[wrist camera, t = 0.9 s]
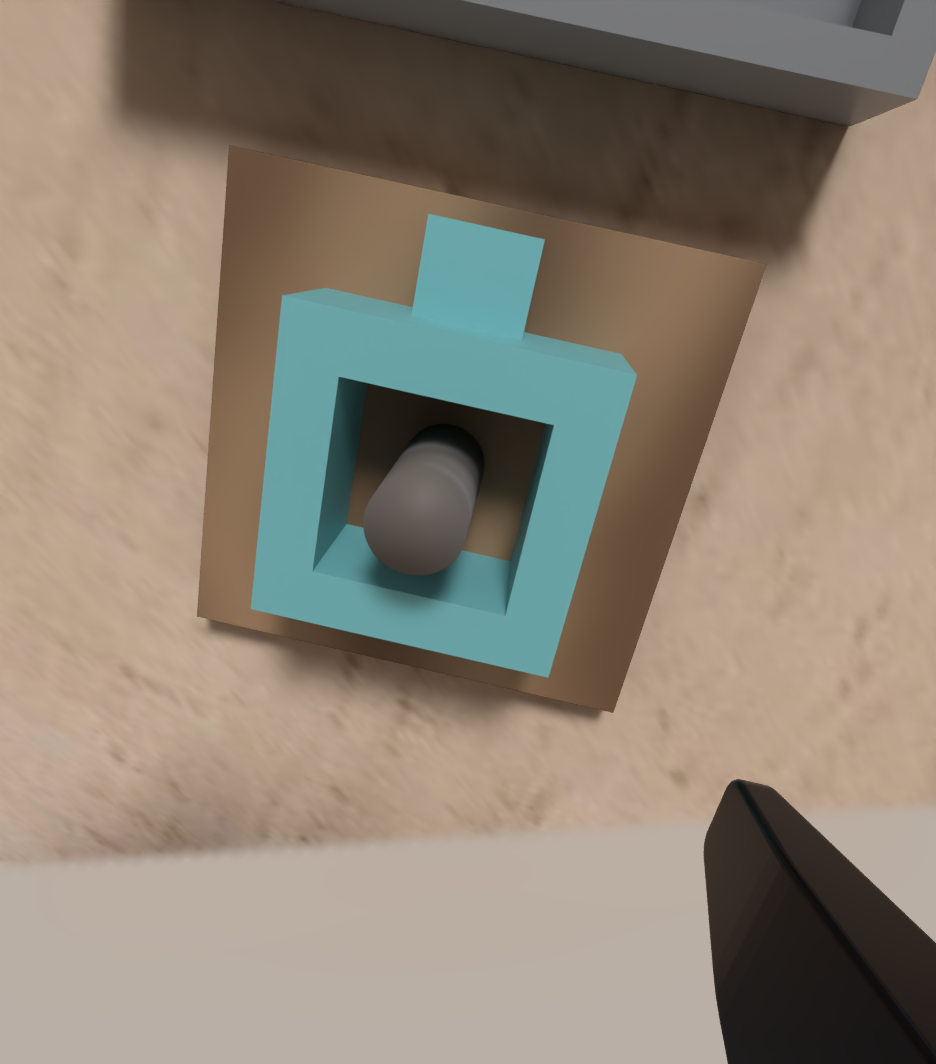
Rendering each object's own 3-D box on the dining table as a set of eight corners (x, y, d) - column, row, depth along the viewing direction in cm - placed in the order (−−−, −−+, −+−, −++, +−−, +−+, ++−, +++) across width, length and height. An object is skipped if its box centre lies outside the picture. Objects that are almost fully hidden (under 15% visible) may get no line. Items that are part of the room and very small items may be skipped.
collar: (646, 262, 16) (669, 266, 13) (547, 615, 19) (548, 677, 16) (337, 194, 16) (293, 182, 13) (292, 557, 19) (250, 609, 16)
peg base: (754, 262, 16) (849, 268, 11) (610, 692, 21) (631, 834, 16) (246, 150, 17) (116, 106, 12) (212, 600, 21) (106, 711, 16)
